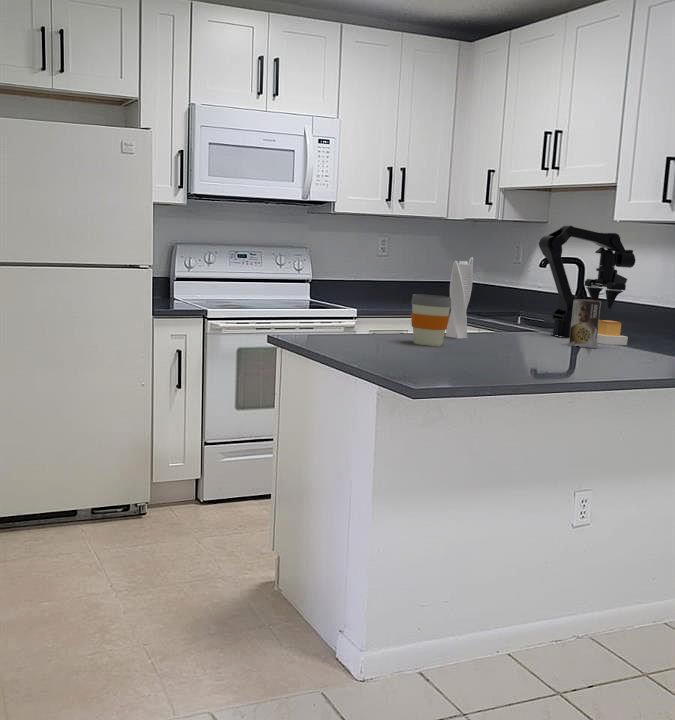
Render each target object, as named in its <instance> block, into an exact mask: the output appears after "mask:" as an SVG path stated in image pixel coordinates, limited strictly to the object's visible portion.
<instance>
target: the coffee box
mask: <svg viewBox="0 0 675 720" xmlns="http://www.w3.org/2000/svg"><path fill="white" fill-rule="evenodd" d="M601 305H602V300H598V301H596V300H592V299H584V298H583V299H582V298H581V299H580V298H579V299H574V300H573V311H572V321H571V330H570V338H569V339H568V340H569V341H568V346H569V345H571V346H570V347H576V346H579V347H578V348H586V347H587V348H590V349H596V348H597V334H598V325H599V320H600V316H601V315H600V314H601Z"/></svg>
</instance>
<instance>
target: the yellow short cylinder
mask: <svg viewBox="0 0 675 720" xmlns="http://www.w3.org/2000/svg"><path fill="white" fill-rule="evenodd" d="M621 331H622V322H620V321H617V320H610V319H609V320H608V319H607V320H604V319H599V325H598V334H602V335H606V336H620V335H621Z"/></svg>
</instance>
